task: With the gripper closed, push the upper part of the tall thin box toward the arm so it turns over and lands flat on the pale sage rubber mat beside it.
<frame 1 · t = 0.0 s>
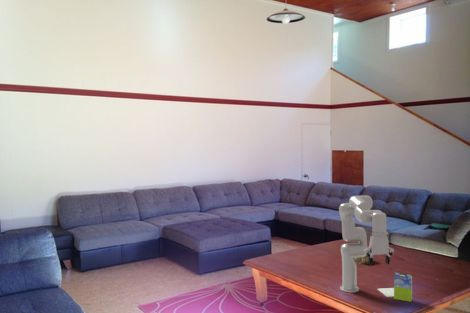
hand: (379, 264, 224), 31 cm above the table, fingers open, 9 cm apart
box: (402, 299, 252), on the table
mat: (393, 292, 264), on the table
miniature house: (362, 262, 333), on the table
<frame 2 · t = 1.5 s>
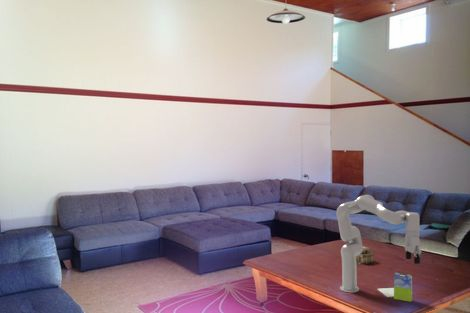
hand: (412, 261, 239), 28 cm above the table, fingers open, 9 cm apart
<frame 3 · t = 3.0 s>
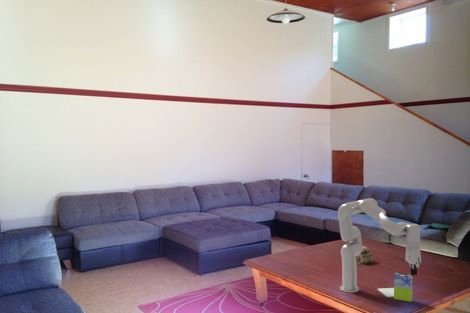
hand: (413, 274, 239), 20 cm above the table, fingers closed
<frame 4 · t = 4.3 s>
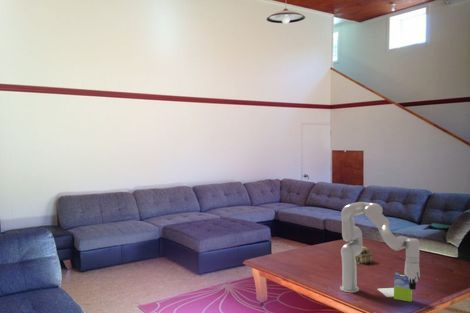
hand: (412, 288, 240), 11 cm above the table, fingers closed
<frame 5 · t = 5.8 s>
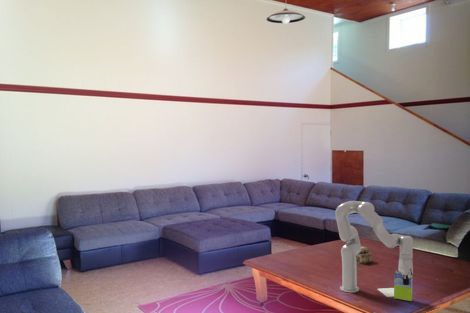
hand: (405, 284, 247), 11 cm above the table, fingers closed
box: (402, 299, 252), on the table, touching gripper
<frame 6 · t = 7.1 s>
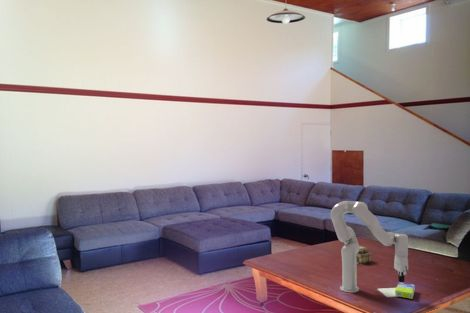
hand: (401, 281, 253), 11 cm above the table, fingers closed
box: (403, 294, 253), point 3 cm above the table, touching mat
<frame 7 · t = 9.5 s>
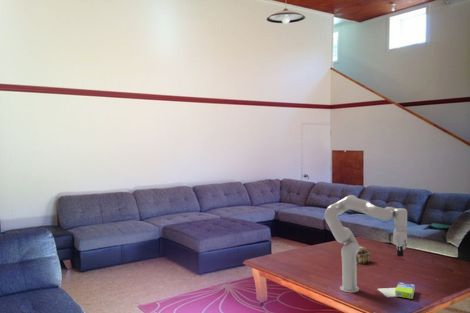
hand: (400, 256, 253), 27 cm above the table, fingers closed
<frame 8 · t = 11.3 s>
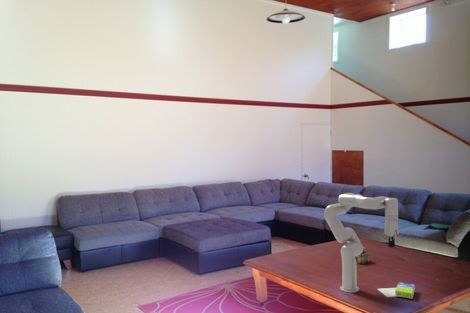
hand: (391, 246, 247), 35 cm above the table, fingers closed
at the end: box tilted 90°; box inside the target area (10.3 cm from its centre), point 2.6 cm above the table; the gripper is holding nothing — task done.
